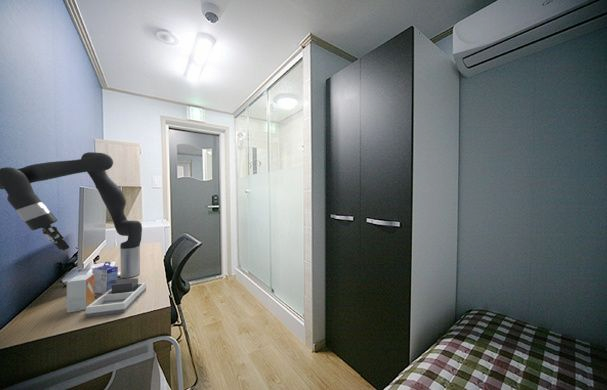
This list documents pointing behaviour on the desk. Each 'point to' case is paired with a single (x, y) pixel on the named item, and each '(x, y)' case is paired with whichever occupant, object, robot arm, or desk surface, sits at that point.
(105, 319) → the desk surface
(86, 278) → the small box
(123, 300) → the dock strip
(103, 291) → the ink cartridge box
